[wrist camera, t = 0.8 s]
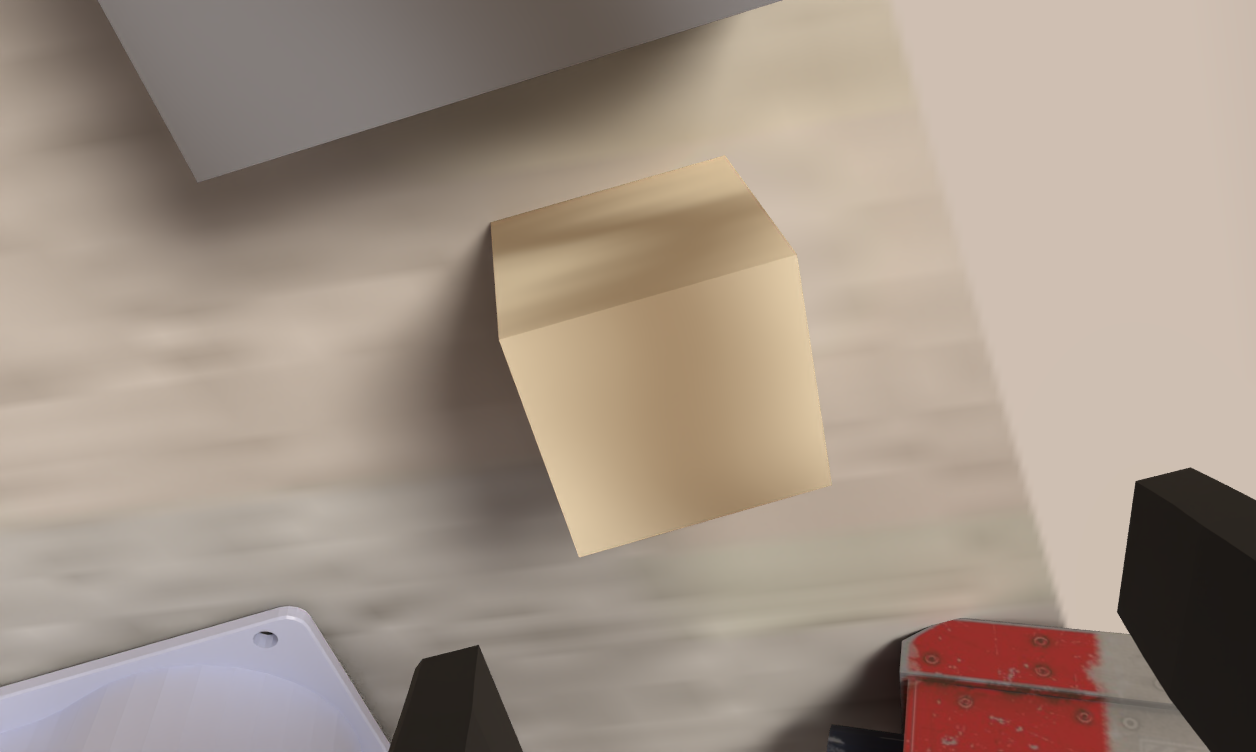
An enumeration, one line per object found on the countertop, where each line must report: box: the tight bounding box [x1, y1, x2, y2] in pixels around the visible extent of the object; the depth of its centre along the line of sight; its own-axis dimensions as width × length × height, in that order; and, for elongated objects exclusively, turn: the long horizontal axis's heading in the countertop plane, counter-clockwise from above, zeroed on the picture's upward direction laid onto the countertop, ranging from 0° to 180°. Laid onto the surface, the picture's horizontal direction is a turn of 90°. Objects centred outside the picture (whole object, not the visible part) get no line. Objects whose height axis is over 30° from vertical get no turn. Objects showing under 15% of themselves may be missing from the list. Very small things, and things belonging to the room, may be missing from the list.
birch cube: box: [491, 156, 832, 557], centre depth 17 cm, size 4×4×4 cm
